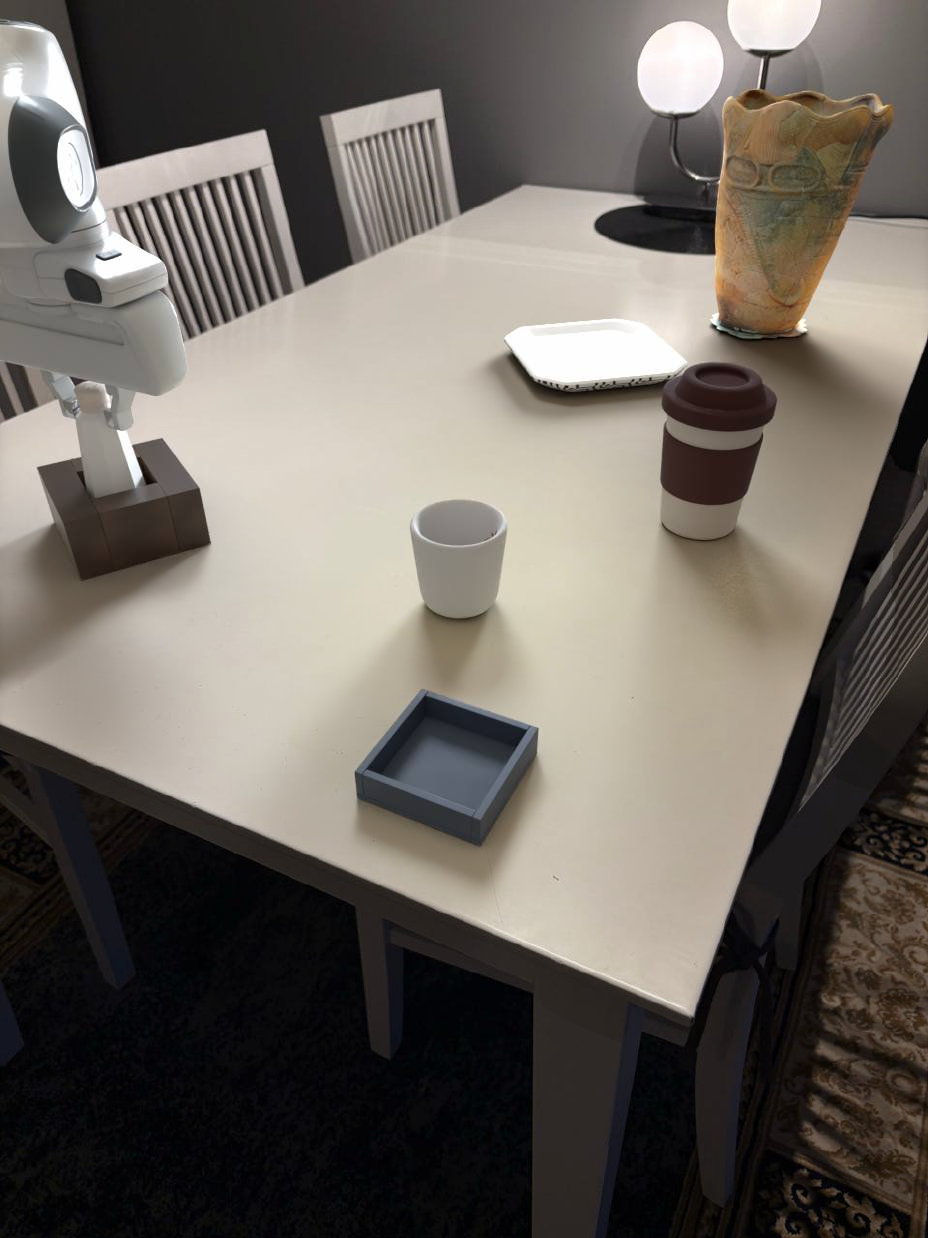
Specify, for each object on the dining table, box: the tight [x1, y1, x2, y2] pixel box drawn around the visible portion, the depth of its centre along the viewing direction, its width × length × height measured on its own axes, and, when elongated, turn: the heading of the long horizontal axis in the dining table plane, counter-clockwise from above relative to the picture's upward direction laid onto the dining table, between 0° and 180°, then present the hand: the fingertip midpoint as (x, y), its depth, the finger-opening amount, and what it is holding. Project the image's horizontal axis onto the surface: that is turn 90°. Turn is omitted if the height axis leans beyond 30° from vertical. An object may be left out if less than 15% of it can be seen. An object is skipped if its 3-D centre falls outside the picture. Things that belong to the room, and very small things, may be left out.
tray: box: [354, 688, 540, 847], centre depth 62 cm, size 9×9×2 cm
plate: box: [503, 318, 688, 393], centre depth 121 cm, size 21×21×2 cm
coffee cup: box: [659, 361, 778, 541], centre depth 84 cm, size 10×10×15 cm
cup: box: [409, 498, 509, 619], centre depth 77 cm, size 11×8×8 cm
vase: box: [709, 88, 895, 339], centre depth 124 cm, size 21×20×30 cm
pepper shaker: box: [74, 380, 146, 499], centre depth 82 cm, size 5×5×11 cm
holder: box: [36, 437, 212, 581], centre depth 86 cm, size 12×12×6 cm
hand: (99, 421), depth 81 cm, fingers closed on pepper shaker, 4 cm apart
